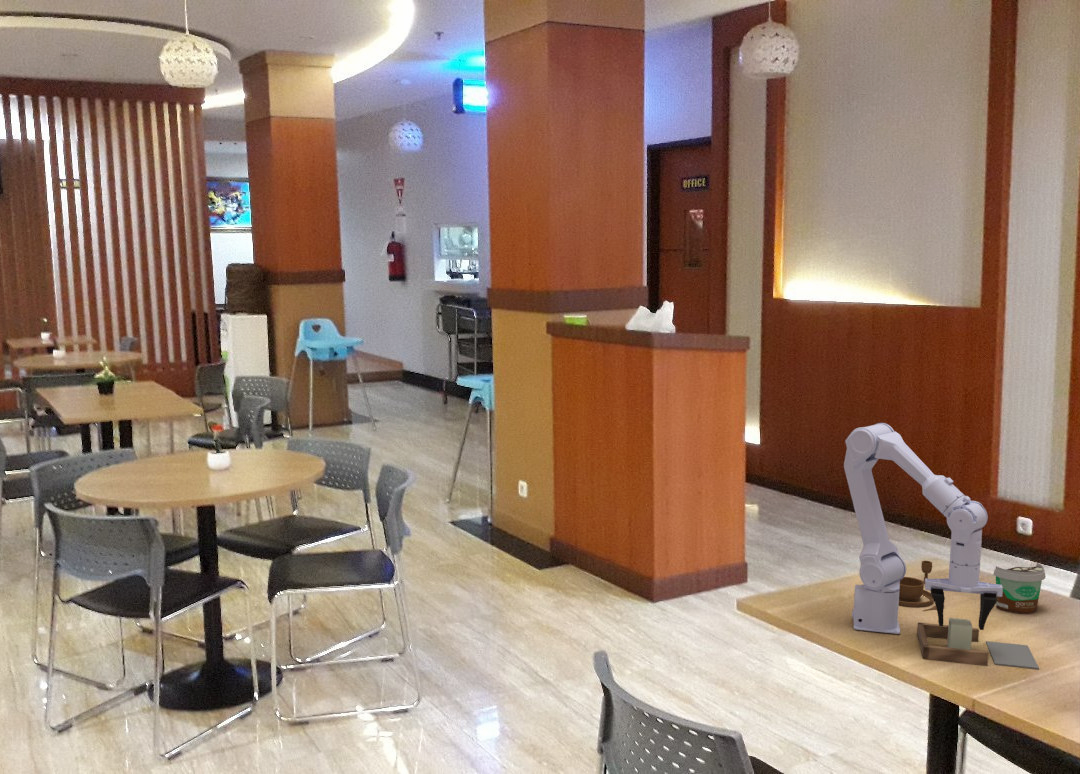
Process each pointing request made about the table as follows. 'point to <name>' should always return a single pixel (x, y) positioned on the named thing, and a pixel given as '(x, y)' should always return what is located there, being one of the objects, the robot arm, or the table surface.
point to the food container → (1019, 588)
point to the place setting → (916, 589)
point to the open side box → (946, 652)
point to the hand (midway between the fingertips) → (960, 626)
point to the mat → (1011, 655)
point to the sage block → (959, 633)
